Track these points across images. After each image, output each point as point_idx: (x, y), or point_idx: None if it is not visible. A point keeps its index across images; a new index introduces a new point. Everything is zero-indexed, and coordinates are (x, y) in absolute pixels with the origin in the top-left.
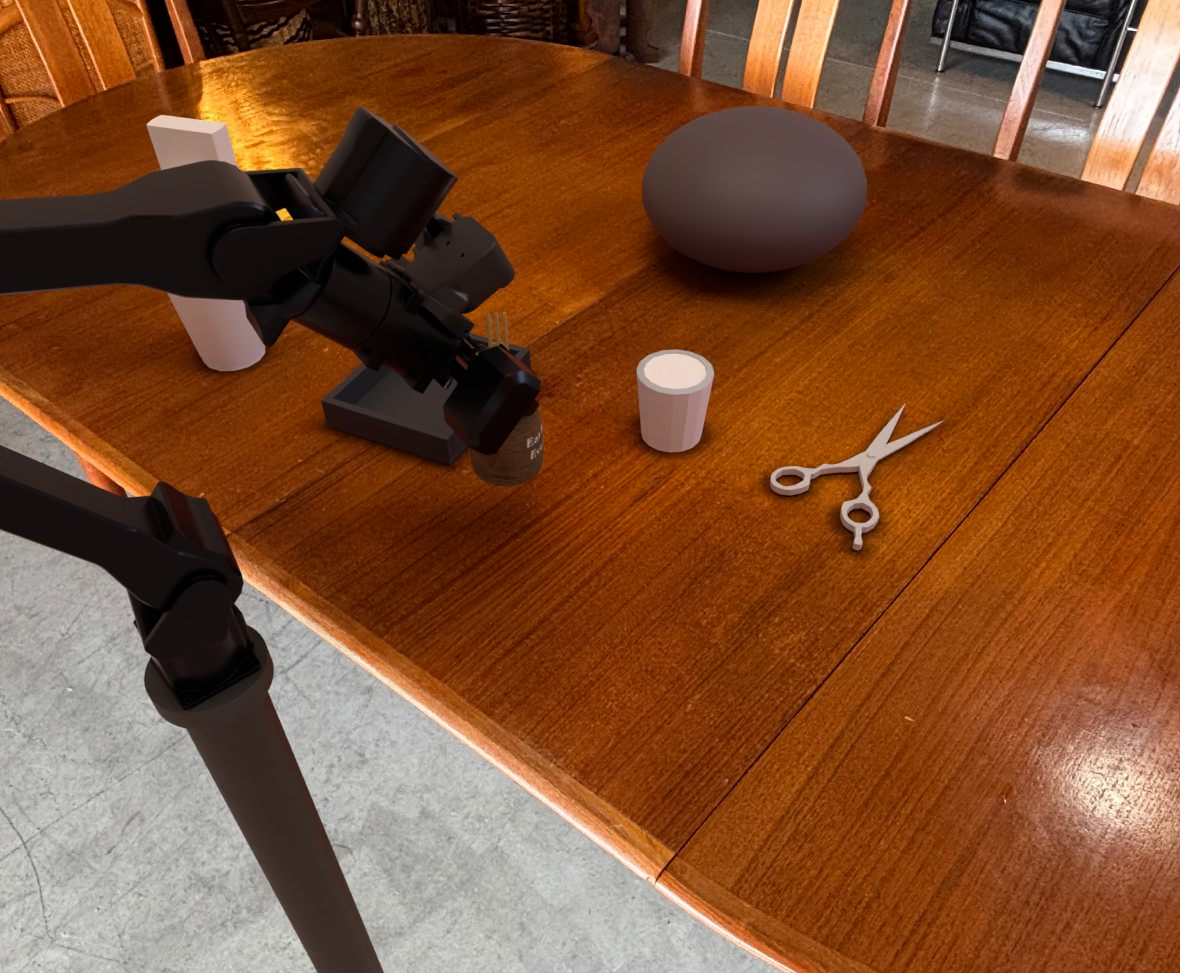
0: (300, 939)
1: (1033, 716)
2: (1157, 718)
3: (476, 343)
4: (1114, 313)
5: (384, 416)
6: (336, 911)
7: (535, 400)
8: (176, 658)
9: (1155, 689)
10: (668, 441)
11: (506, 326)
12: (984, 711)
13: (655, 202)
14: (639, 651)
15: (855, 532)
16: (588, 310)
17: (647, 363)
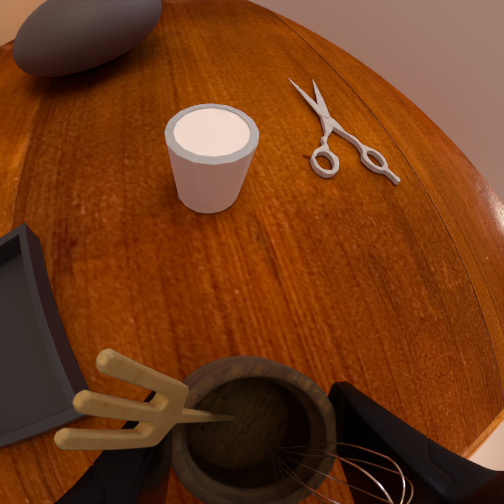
0: None
1: (486, 214)
2: (485, 182)
3: (138, 497)
4: (273, 20)
5: (15, 434)
6: None
7: (365, 395)
8: None
9: (476, 171)
10: (232, 197)
11: (150, 374)
12: (485, 227)
13: (35, 53)
14: (426, 374)
15: (389, 173)
16: (29, 151)
17: (176, 141)
